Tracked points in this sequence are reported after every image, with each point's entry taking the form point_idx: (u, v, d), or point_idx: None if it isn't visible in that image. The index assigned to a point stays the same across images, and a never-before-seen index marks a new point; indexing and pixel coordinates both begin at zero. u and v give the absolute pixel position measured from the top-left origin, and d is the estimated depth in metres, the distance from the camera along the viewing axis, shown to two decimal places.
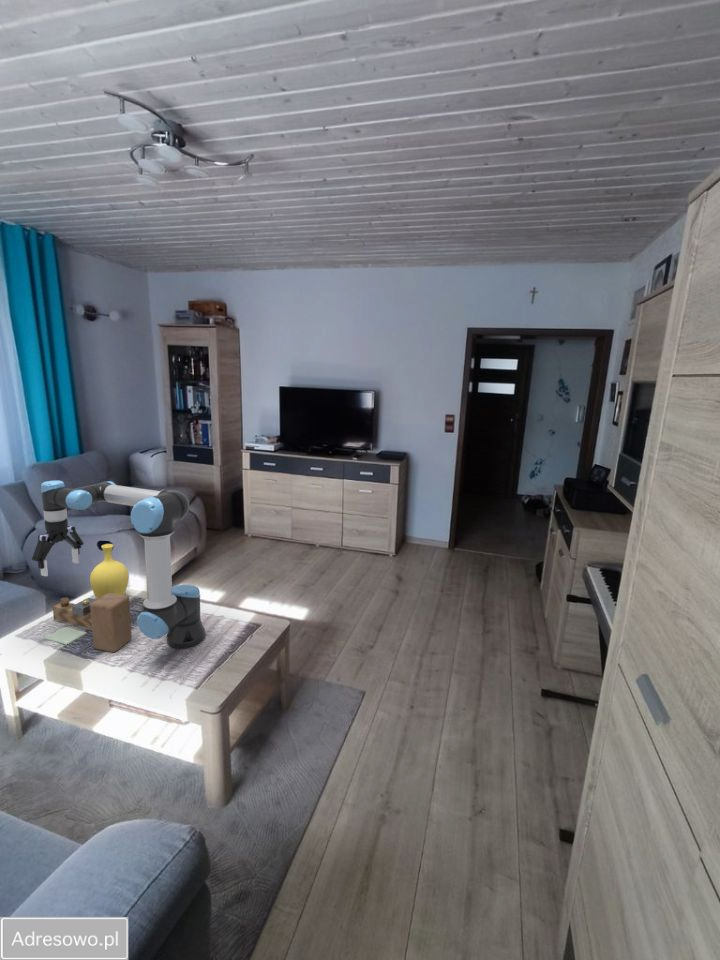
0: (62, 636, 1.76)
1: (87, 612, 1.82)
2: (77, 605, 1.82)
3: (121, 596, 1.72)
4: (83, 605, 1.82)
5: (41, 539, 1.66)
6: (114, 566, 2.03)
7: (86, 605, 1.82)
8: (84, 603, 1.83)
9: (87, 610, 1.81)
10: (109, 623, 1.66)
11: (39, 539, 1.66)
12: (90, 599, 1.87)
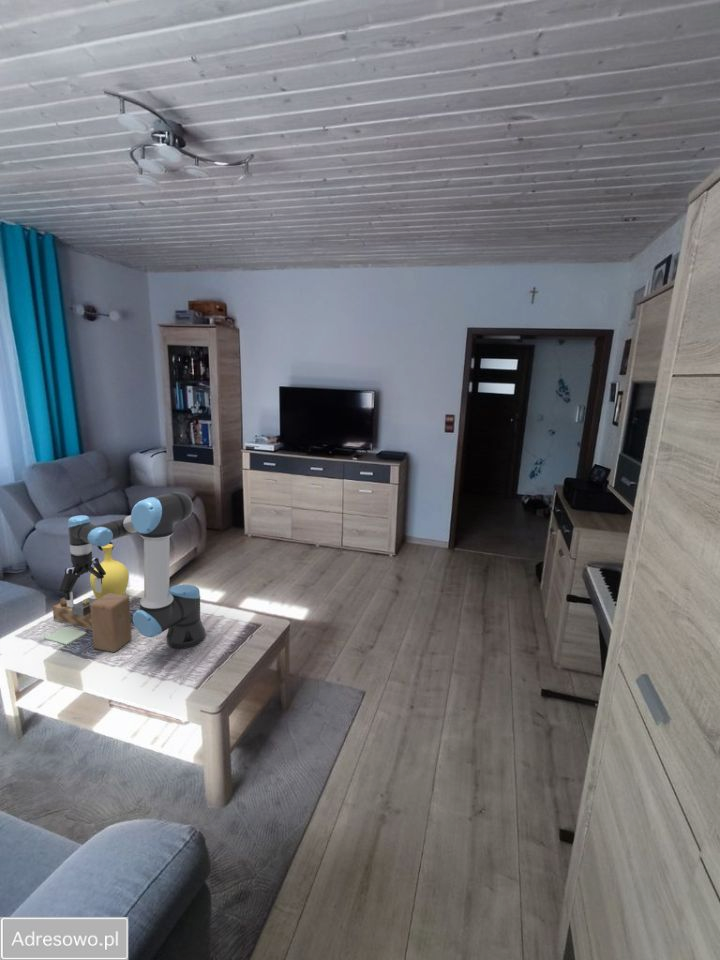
0: (62, 636, 1.76)
1: (87, 612, 1.82)
2: (77, 605, 1.82)
3: (121, 596, 1.72)
4: (83, 605, 1.82)
5: (68, 572, 1.74)
6: (114, 566, 2.03)
7: (86, 605, 1.82)
8: (84, 603, 1.83)
9: (87, 610, 1.81)
10: (109, 623, 1.66)
11: (66, 572, 1.74)
12: (90, 599, 1.87)
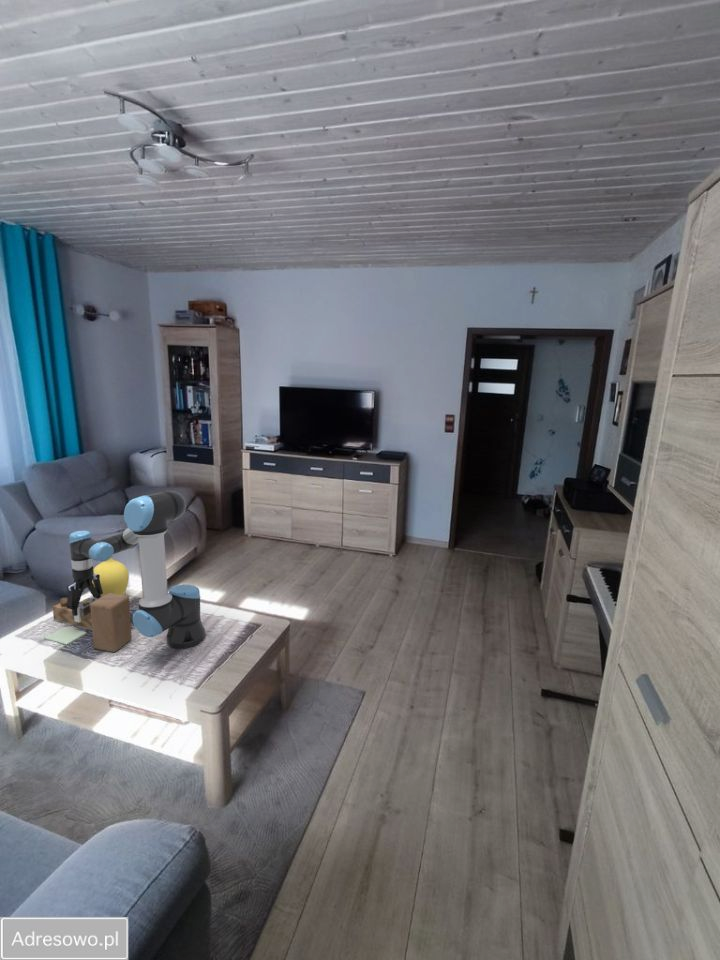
0: (62, 636, 1.76)
1: (87, 612, 1.82)
2: None
3: (121, 596, 1.72)
4: (83, 605, 1.82)
5: (70, 589, 1.76)
6: (114, 566, 2.03)
7: (86, 605, 1.82)
8: (84, 603, 1.83)
9: (87, 610, 1.81)
10: (109, 623, 1.66)
11: (68, 589, 1.76)
12: (90, 599, 1.87)
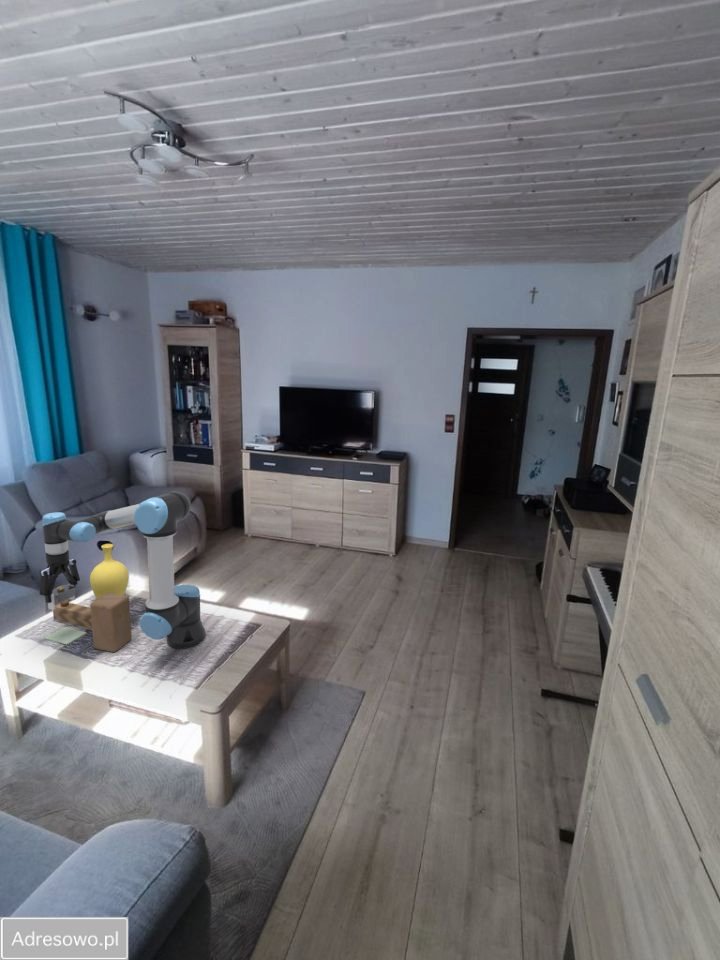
0: (62, 636, 1.76)
1: (62, 599, 1.71)
2: None
3: (121, 596, 1.72)
4: (58, 592, 1.71)
5: (43, 575, 1.65)
6: (114, 566, 2.03)
7: (61, 592, 1.71)
8: (59, 590, 1.72)
9: (61, 597, 1.71)
10: (109, 623, 1.66)
11: (41, 575, 1.65)
12: (66, 586, 1.76)
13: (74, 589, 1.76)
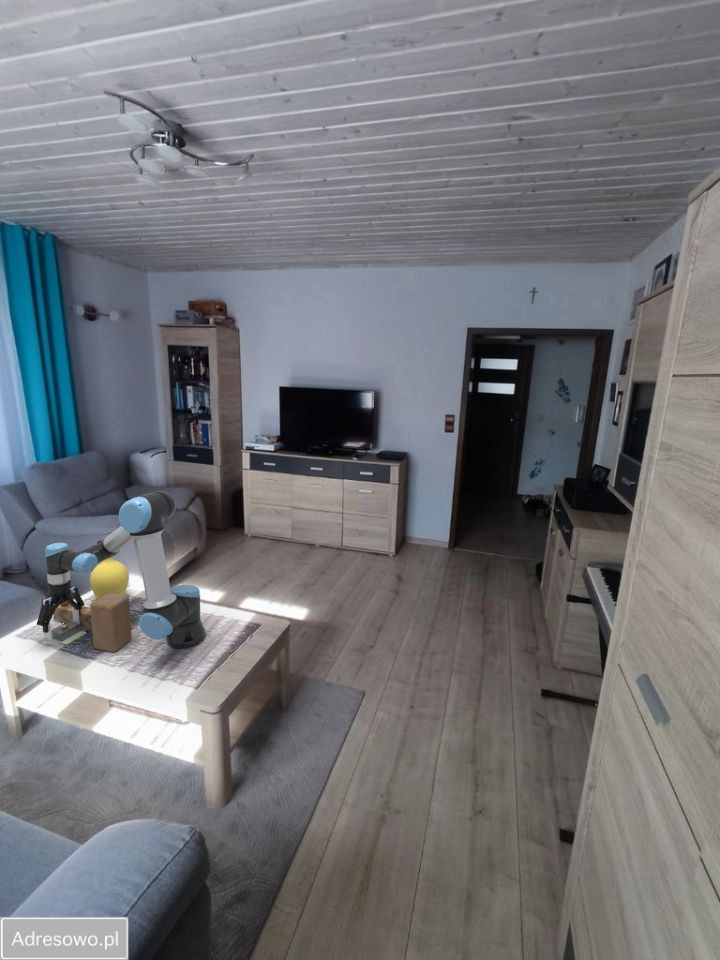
0: None
1: (66, 637, 1.74)
2: (55, 630, 1.74)
3: (121, 596, 1.72)
4: (62, 630, 1.74)
5: (44, 604, 1.67)
6: (114, 566, 2.03)
7: (65, 630, 1.75)
8: (63, 627, 1.75)
9: (65, 635, 1.74)
10: (109, 623, 1.66)
11: (42, 603, 1.67)
12: (70, 623, 1.80)
13: (78, 626, 1.79)
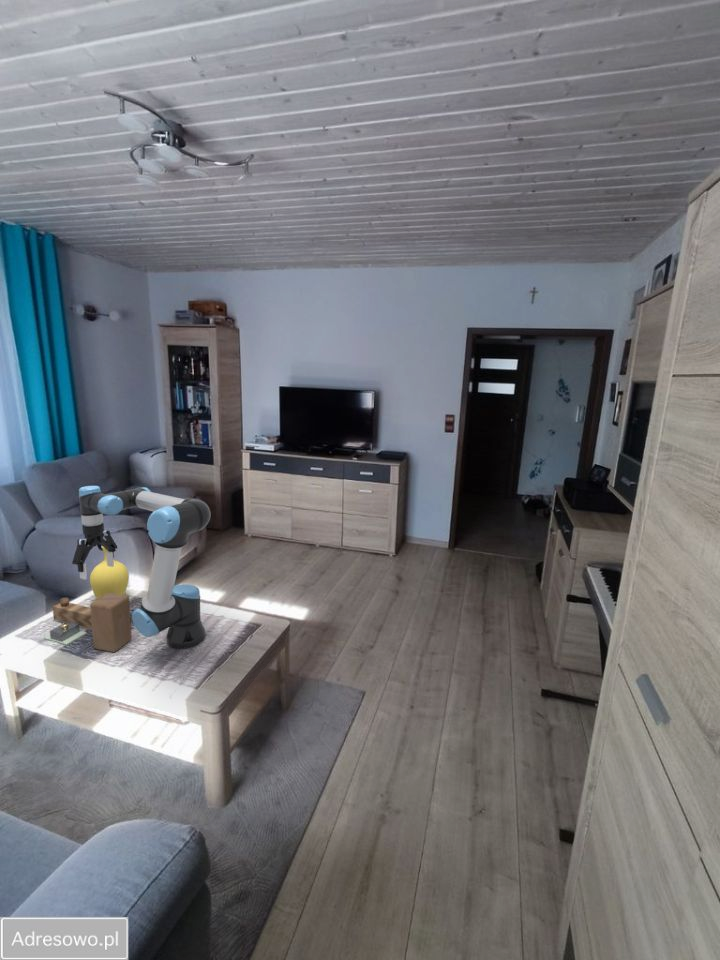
0: None
1: (66, 637, 1.74)
2: (55, 630, 1.74)
3: (121, 596, 1.72)
4: (62, 630, 1.74)
5: (80, 543, 1.70)
6: (114, 566, 2.03)
7: (65, 630, 1.75)
8: (63, 627, 1.75)
9: (65, 635, 1.74)
10: (109, 623, 1.66)
11: (78, 543, 1.70)
12: (70, 623, 1.80)
13: (78, 626, 1.79)
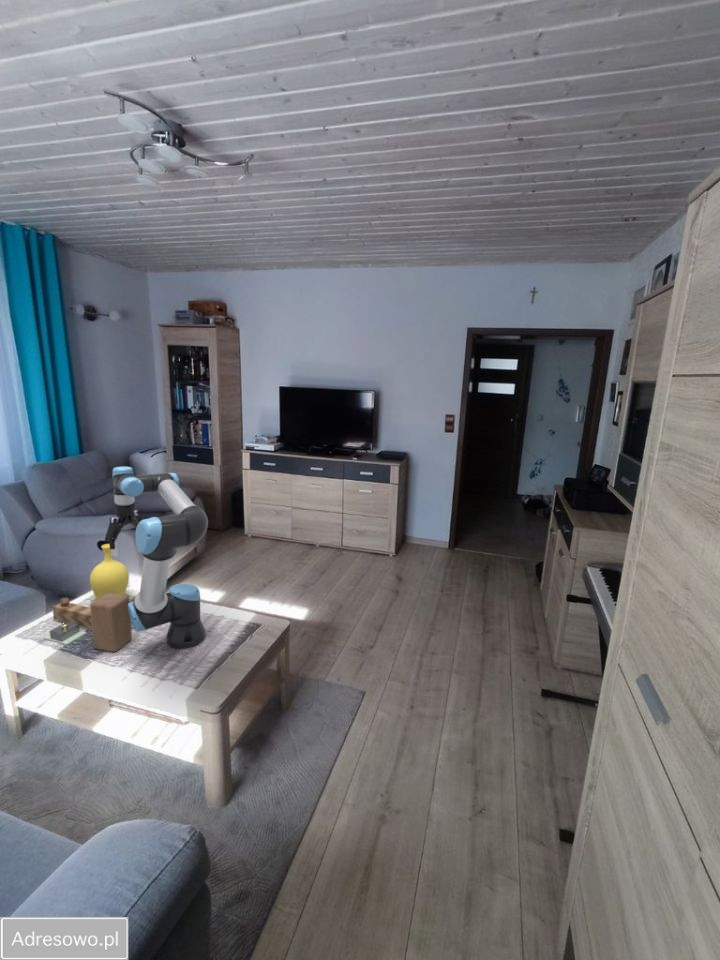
0: None
1: (66, 637, 1.74)
2: (55, 630, 1.74)
3: (121, 596, 1.72)
4: (62, 630, 1.74)
5: (113, 521, 1.76)
6: (114, 566, 2.03)
7: (65, 630, 1.75)
8: (63, 627, 1.75)
9: (65, 635, 1.74)
10: (109, 623, 1.66)
11: (111, 521, 1.77)
12: (70, 623, 1.80)
13: (78, 626, 1.79)
